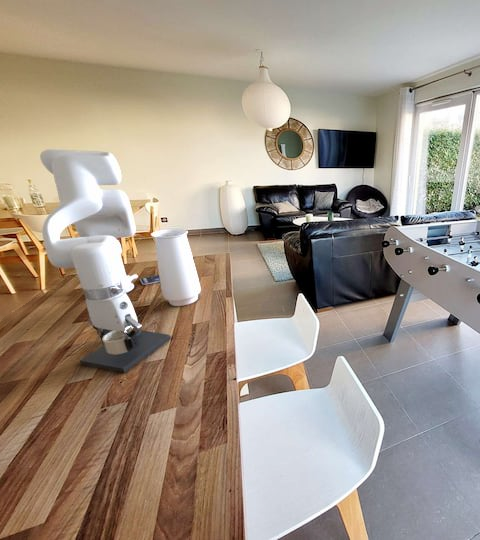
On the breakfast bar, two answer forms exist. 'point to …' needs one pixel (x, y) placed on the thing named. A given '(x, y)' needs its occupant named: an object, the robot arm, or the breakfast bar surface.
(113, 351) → the bowl
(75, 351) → the breakfast bar surface
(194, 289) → the vase
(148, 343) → the scale
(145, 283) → the smartphone
